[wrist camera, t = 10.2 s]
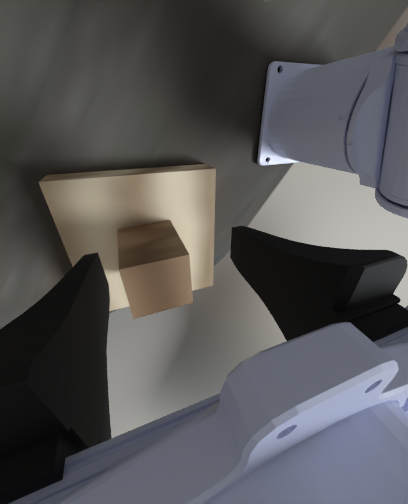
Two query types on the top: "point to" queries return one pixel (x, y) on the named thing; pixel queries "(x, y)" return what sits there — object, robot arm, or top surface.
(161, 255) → the walnut block
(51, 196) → the birch block
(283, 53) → the top surface
